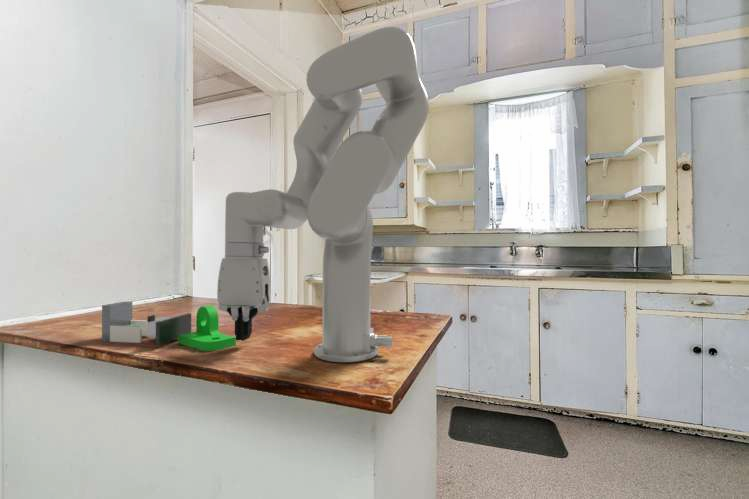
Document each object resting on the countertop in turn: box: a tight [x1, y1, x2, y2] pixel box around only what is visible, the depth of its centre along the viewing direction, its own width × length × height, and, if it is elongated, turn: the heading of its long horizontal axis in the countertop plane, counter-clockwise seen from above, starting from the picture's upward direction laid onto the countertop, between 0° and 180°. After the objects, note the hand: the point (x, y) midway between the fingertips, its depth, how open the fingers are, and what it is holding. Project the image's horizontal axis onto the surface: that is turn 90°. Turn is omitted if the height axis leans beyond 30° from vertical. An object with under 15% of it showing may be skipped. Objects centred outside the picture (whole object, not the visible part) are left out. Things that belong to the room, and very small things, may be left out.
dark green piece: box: [146, 313, 192, 346], centre depth 77 cm, size 7×10×5 cm, turn 172°
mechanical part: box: [177, 305, 237, 352], centre depth 75 cm, size 12×6×8 cm, turn 56°
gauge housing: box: [101, 301, 147, 344], centre depth 79 cm, size 9×6×8 cm, turn 82°
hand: (243, 338), depth 72 cm, fingers closed
